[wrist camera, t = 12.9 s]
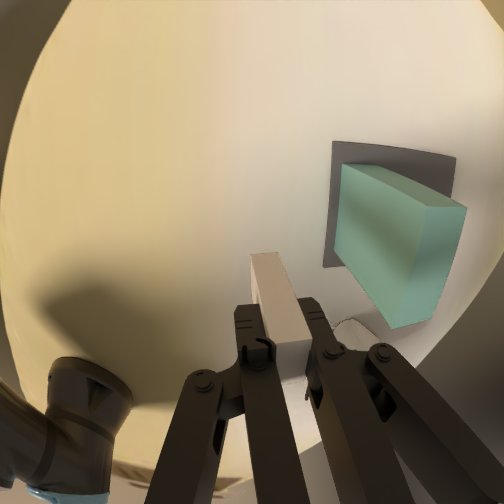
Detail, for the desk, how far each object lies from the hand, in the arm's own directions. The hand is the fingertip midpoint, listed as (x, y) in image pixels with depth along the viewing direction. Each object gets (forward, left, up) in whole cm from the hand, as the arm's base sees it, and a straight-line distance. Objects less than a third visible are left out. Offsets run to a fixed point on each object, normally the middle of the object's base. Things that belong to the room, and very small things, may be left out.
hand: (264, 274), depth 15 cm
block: (+11, 0, -10) cm, 15 cm away
